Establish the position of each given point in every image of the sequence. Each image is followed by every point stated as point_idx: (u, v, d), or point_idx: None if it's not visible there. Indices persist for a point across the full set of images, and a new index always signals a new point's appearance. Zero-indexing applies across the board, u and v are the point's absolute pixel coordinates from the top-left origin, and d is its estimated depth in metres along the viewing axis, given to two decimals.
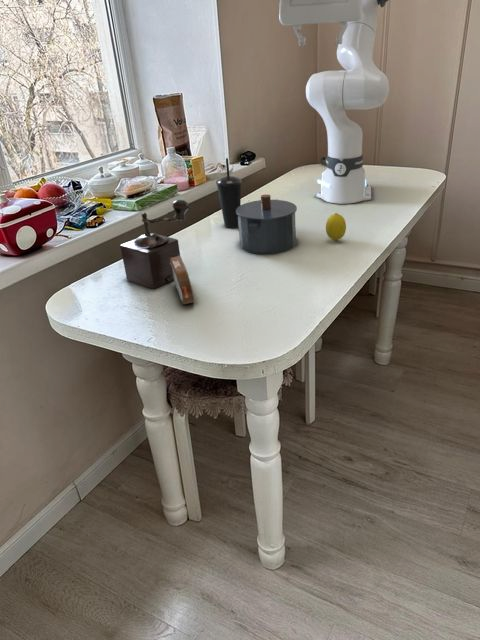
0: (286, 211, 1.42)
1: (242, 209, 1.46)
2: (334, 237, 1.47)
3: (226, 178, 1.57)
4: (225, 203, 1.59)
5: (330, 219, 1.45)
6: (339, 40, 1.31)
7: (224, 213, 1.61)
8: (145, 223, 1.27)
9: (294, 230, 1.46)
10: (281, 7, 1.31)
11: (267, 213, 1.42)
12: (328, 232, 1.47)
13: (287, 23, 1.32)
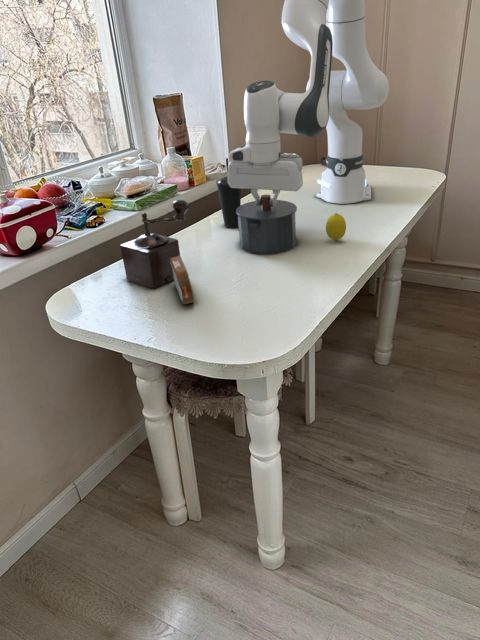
0: (286, 211, 1.42)
1: (242, 209, 1.46)
2: (334, 237, 1.47)
3: (226, 178, 1.57)
4: (225, 203, 1.59)
5: (330, 219, 1.45)
6: (273, 203, 1.43)
7: (224, 213, 1.61)
8: (145, 223, 1.27)
9: (294, 230, 1.46)
10: (229, 174, 1.42)
11: (268, 213, 1.42)
12: (328, 232, 1.47)
13: (235, 187, 1.44)
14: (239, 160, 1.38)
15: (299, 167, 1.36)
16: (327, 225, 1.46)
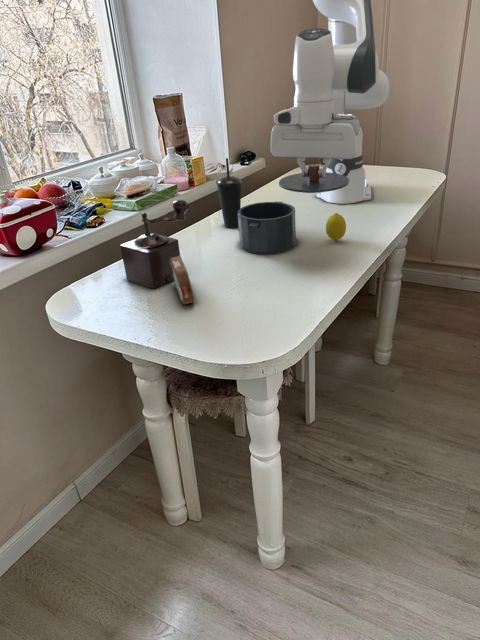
0: (337, 183, 1.24)
1: (286, 181, 1.28)
2: (334, 237, 1.47)
3: (226, 178, 1.57)
4: (225, 203, 1.59)
5: (330, 219, 1.45)
6: (322, 174, 1.25)
7: (224, 213, 1.61)
8: (145, 223, 1.27)
9: (294, 230, 1.46)
10: (272, 140, 1.24)
11: (317, 185, 1.24)
12: (328, 232, 1.47)
13: (279, 155, 1.25)
14: (286, 123, 1.19)
15: (356, 130, 1.18)
16: (327, 225, 1.46)
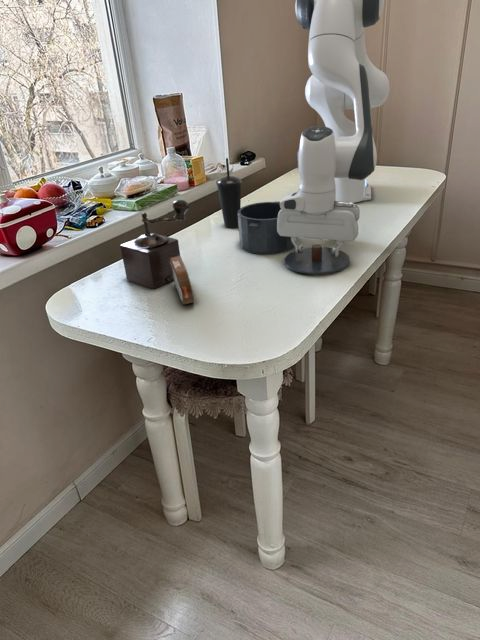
0: (339, 263, 1.34)
1: (291, 259, 1.37)
2: None
3: (226, 178, 1.57)
4: (225, 203, 1.59)
5: None
6: (335, 254, 1.34)
7: (224, 213, 1.61)
8: (145, 223, 1.27)
9: None
10: (279, 222, 1.33)
11: (320, 265, 1.33)
12: None
13: (285, 235, 1.35)
14: (291, 209, 1.29)
15: (356, 217, 1.28)
16: None
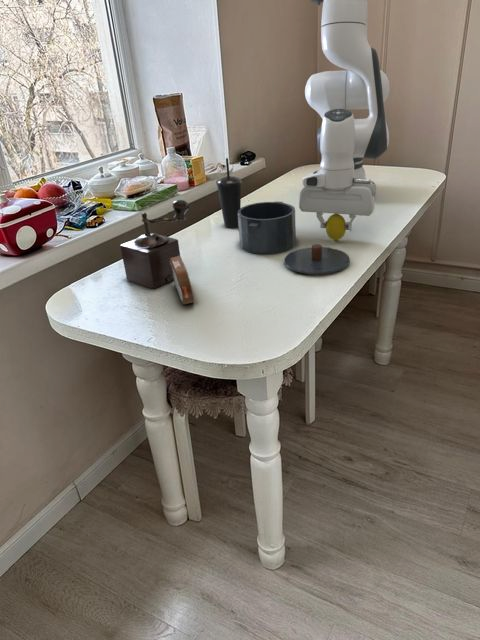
0: (339, 263, 1.34)
1: (291, 259, 1.37)
2: (334, 237, 1.47)
3: (226, 178, 1.57)
4: (225, 203, 1.59)
5: (330, 219, 1.45)
6: (348, 227, 1.45)
7: (224, 213, 1.61)
8: (145, 223, 1.27)
9: (294, 230, 1.46)
10: (301, 198, 1.45)
11: (320, 265, 1.33)
12: (328, 232, 1.47)
13: (306, 211, 1.46)
14: (313, 185, 1.40)
15: (372, 192, 1.39)
16: (327, 225, 1.46)
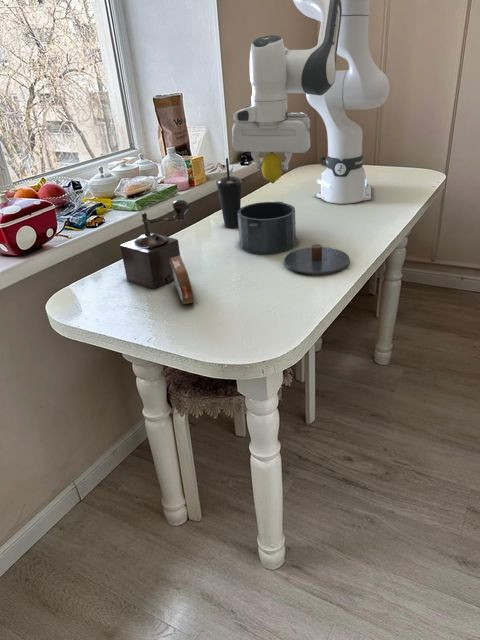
0: (339, 263, 1.34)
1: (291, 259, 1.37)
2: (270, 178, 1.39)
3: (226, 178, 1.57)
4: (225, 203, 1.59)
5: (265, 158, 1.37)
6: (285, 167, 1.38)
7: (224, 213, 1.61)
8: (145, 223, 1.27)
9: (294, 230, 1.46)
10: (233, 136, 1.37)
11: (320, 265, 1.33)
12: (264, 173, 1.39)
13: (240, 150, 1.38)
14: (244, 120, 1.32)
15: (307, 127, 1.31)
16: (262, 165, 1.38)
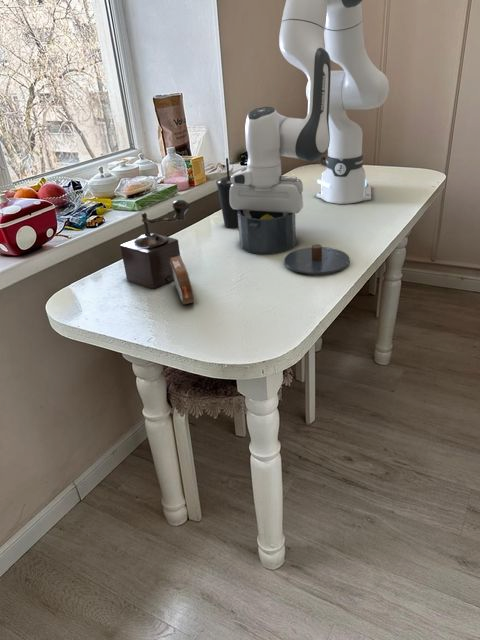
0: (339, 263, 1.34)
1: (291, 259, 1.37)
2: None
3: (226, 178, 1.57)
4: (225, 203, 1.59)
5: None
6: None
7: (224, 213, 1.61)
8: (145, 223, 1.27)
9: (294, 230, 1.46)
10: (231, 196, 1.45)
11: (320, 265, 1.33)
12: None
13: (237, 208, 1.47)
14: (241, 183, 1.41)
15: (299, 190, 1.39)
16: None
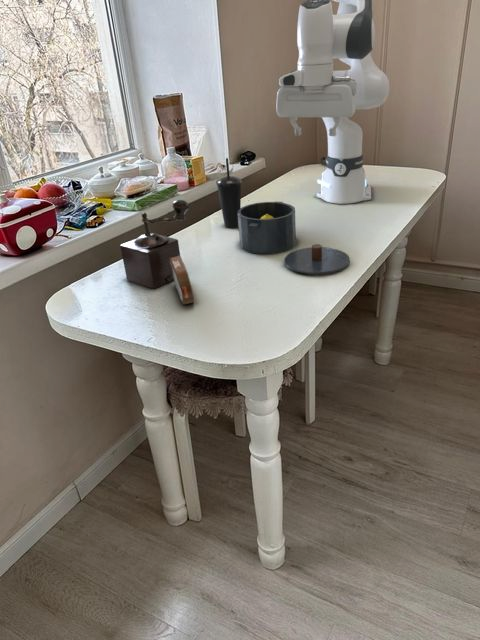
0: (339, 263, 1.34)
1: (291, 259, 1.37)
2: None
3: (226, 178, 1.57)
4: (225, 203, 1.59)
5: None
6: (333, 133, 1.38)
7: (224, 213, 1.61)
8: (145, 223, 1.27)
9: (294, 230, 1.46)
10: (278, 101, 1.37)
11: (320, 265, 1.33)
12: None
13: (284, 115, 1.39)
14: (290, 85, 1.33)
15: (353, 91, 1.32)
16: None
